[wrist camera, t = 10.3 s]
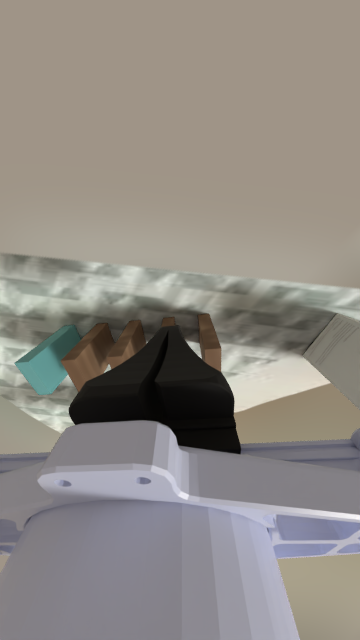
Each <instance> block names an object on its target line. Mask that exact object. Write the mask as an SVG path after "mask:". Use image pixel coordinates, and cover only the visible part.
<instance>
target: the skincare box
mask: <svg viewBox="0 0 360 640" xmlns="http://www.w3.org/2000/svg"><path fill="white" fill-rule="evenodd" d="M303 357H304V358H305V359H306V360H307V361H308V362H310V363H311V364H312V365H313V366H314V367H315V368H316V369H317V370H318V371H319V372H320V373H321V374H322V375H323V376H324V377H325V378H327V379H328V380H329V381H330V382H331V383H332V384H333V385H334V386H335V387H336V388H337V389H338V390H339V391H340V392H341V393H343V394H344V395H345V396H346V397H347V398H348V399H349V400H350V401H351V402H352V403H353V404H354V405H355V406H356V407H357V408H358V409H359V410H360V321H358V320H355V319H352V318H349V317H347V316H344V315H341V314H336V315H335V317H334V318H333V319H332V320H331V322H330V323H329V324H328V325H327V326H326V328H325V329H324V330H323V331H322V332H321V334H320V335H319V336H318V337H317V339H316V340H315V341H314V342H313V343H312V345H311V346H310V347H309V348H308V349H307V351H306V352H305V353H304V354H303Z"/></svg>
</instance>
